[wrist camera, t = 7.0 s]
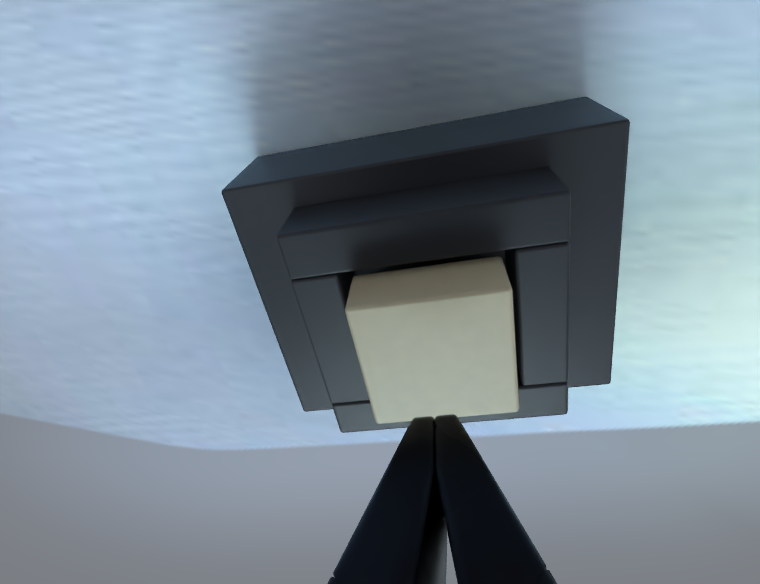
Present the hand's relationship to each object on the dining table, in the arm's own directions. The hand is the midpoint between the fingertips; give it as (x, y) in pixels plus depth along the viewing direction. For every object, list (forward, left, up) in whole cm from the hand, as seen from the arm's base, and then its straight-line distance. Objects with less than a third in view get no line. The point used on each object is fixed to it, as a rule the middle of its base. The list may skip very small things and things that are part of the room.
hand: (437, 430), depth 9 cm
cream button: (0, 0, -3) cm, 3 cm away
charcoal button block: (0, 0, -8) cm, 8 cm away
